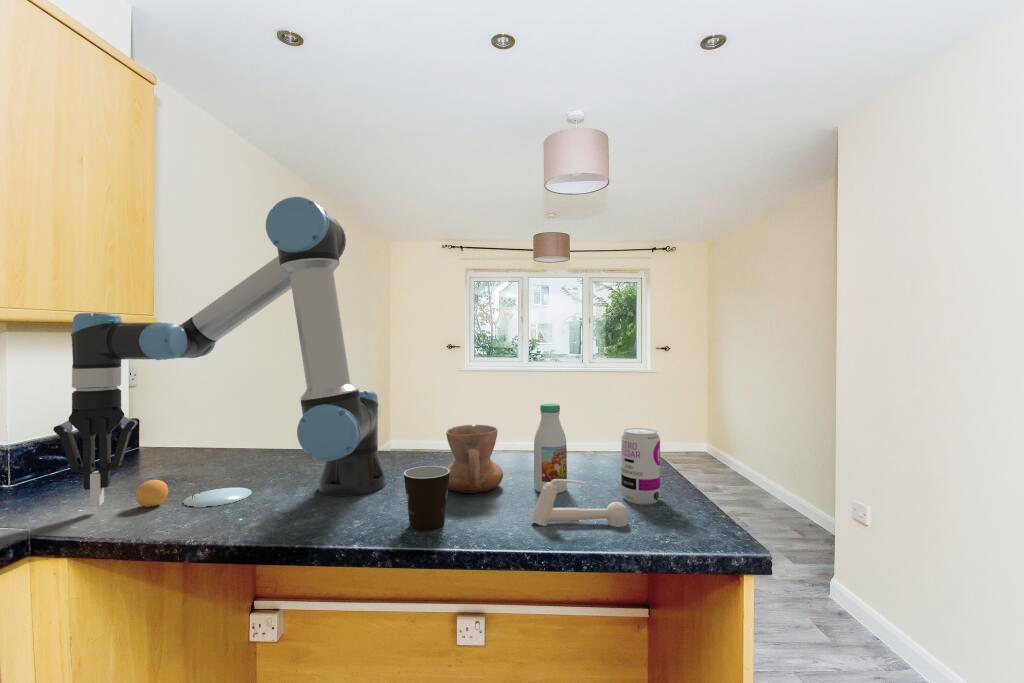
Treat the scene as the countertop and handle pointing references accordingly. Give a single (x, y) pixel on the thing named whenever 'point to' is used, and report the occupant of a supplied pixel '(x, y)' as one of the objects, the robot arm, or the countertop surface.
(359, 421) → the robot arm
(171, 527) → the countertop surface
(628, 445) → the supplement can
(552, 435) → the milk bottle
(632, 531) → the countertop surface
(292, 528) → the countertop surface
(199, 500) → the disc
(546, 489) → the faucet
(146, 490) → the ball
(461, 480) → the ceramic jug
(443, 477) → the brown cup
